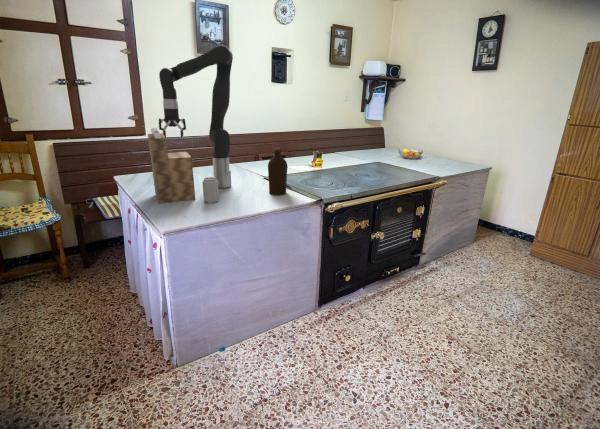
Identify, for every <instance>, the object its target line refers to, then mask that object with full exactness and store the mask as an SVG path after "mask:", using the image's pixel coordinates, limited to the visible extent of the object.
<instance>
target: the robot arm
mask: <svg viewBox="0 0 600 429" xmlns="http://www.w3.org/2000/svg"><path fill="white" fill-rule="evenodd" d="M233 56H234V55H233V53H232V51H231V50H230V48H229V47H227V46H226V45H223V44H220V45H217V46H216V47H214V48H212V49H210V50H209V51H207V52H205V53H203V54H200V55H198V56H196V57H194V58H191V59H188V60H185V61H181V62H179V63H178V64H176V65H175V66H172V67H170V68H168V67H163V68H161V69H160V71H159V76H158V77H159V82H160V85H161V90H162V98H163V102H162V105H163V106H162V107H163V115H164V118H158V131H159V130H160V131H162V133H163V135H164V136H165V137H166V138H167V133H166V132H167V131H166V130H167V128H168V127H170V128H171V127H174V128H176V127H177V128H178V129H179V131H180V138H182V139H183V137H184V131H186V130H187V126H186V125H187V124H186V119H185V118H180V114H179V113H180V112H179V104H178V103H179V102H178V95H177V89H176V88H175V85H174V82H178V81H180V80H181V79H184V78H187V77H189V76H192V75H195V74H197V73H199V72H200V71H203V70H204V69H205V68H208V67H212V66H215V65H216V75H215V76H216V77H215V80H214V83H213V87H212V95H211V96H212V97H211V119H210V126H209V133H208V135H209V136H208V137H209V138H208V139H209V140H210V142H211V143H212V144H213V146H214V150H213V151H212V154H211V156H212V166H213V167H212V171H213V177H214V178H216V180H217V181H218V189H226V188H230V187H232V175H231V174H232V171H231V170H230V152H231V139H230V138H231V137H230V134H229V131H227V130H226V129H224V125H225V124H224V123H225V122H224V121H225V117H226V114H227V112H228V109H229V107H230V106H229V105H230V96H231V95H230V94H231V71H232V66H233V60H234V59H233V58H234V57H233ZM163 122H164V123H165V125H164V127H162V124H163ZM180 122H181V124H182V126H183V127H182V126H181V125H180Z"/></svg>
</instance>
